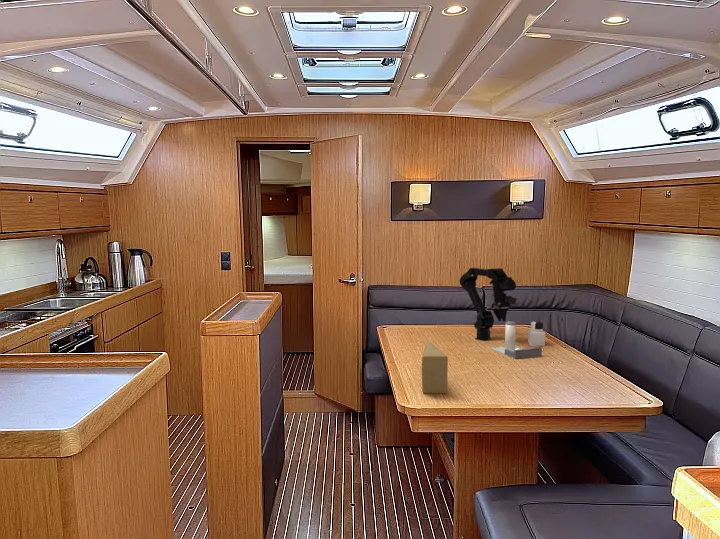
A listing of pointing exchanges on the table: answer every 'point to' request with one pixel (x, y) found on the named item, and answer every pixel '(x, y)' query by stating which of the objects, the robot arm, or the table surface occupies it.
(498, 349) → the sage mat
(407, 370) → the table surface
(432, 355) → the cheese
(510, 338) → the grey capped tube
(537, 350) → the dispenser rack
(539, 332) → the medicine bottle
